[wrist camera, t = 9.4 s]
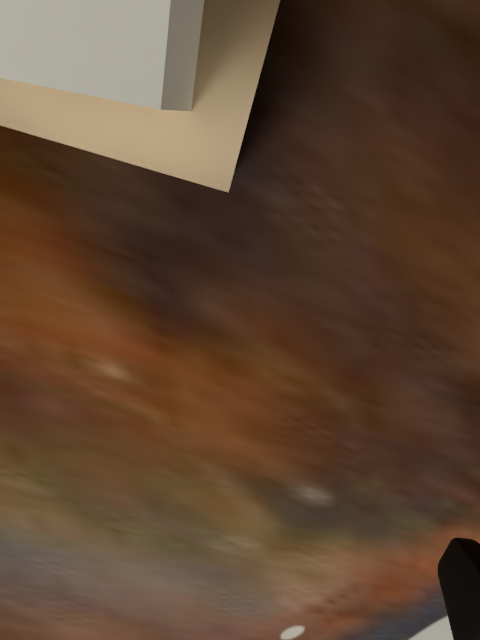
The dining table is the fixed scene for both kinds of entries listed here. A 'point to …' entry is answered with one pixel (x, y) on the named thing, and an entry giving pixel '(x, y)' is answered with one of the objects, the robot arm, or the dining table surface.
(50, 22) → the off-white plain cube
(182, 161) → the oak block
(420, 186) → the dining table surface
